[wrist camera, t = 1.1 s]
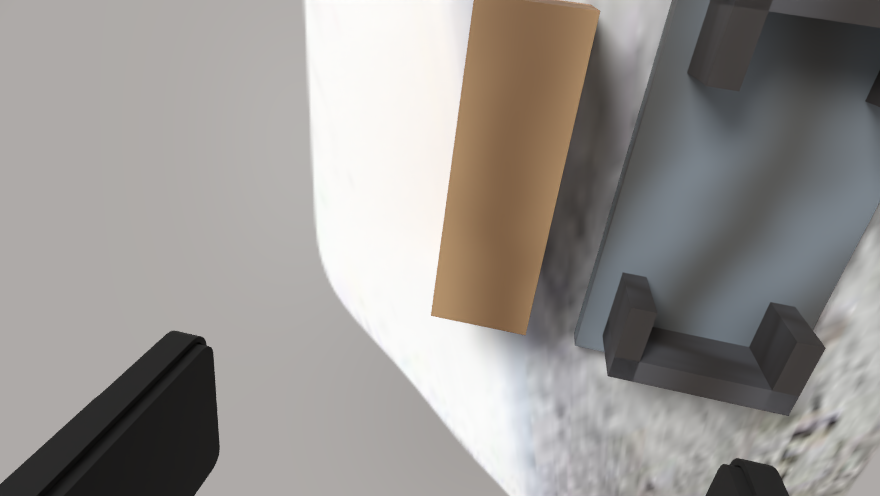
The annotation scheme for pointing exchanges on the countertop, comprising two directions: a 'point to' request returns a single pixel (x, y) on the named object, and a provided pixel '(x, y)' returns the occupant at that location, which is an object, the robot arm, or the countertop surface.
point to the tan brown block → (509, 156)
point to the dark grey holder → (739, 198)
